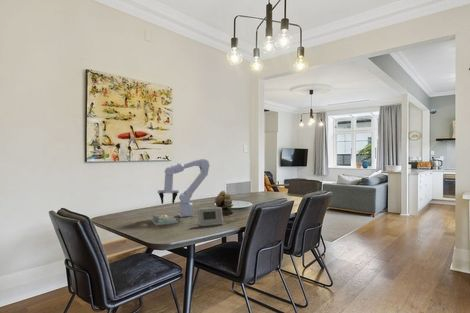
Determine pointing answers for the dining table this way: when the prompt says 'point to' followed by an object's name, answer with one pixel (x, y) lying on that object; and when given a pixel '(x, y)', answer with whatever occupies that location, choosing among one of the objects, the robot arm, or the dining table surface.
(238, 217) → the dining table surface
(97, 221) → the dining table surface
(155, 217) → the gauge bench
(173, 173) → the robot arm
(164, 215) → the gauge sled
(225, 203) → the brown bushy plant
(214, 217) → the digital clock
